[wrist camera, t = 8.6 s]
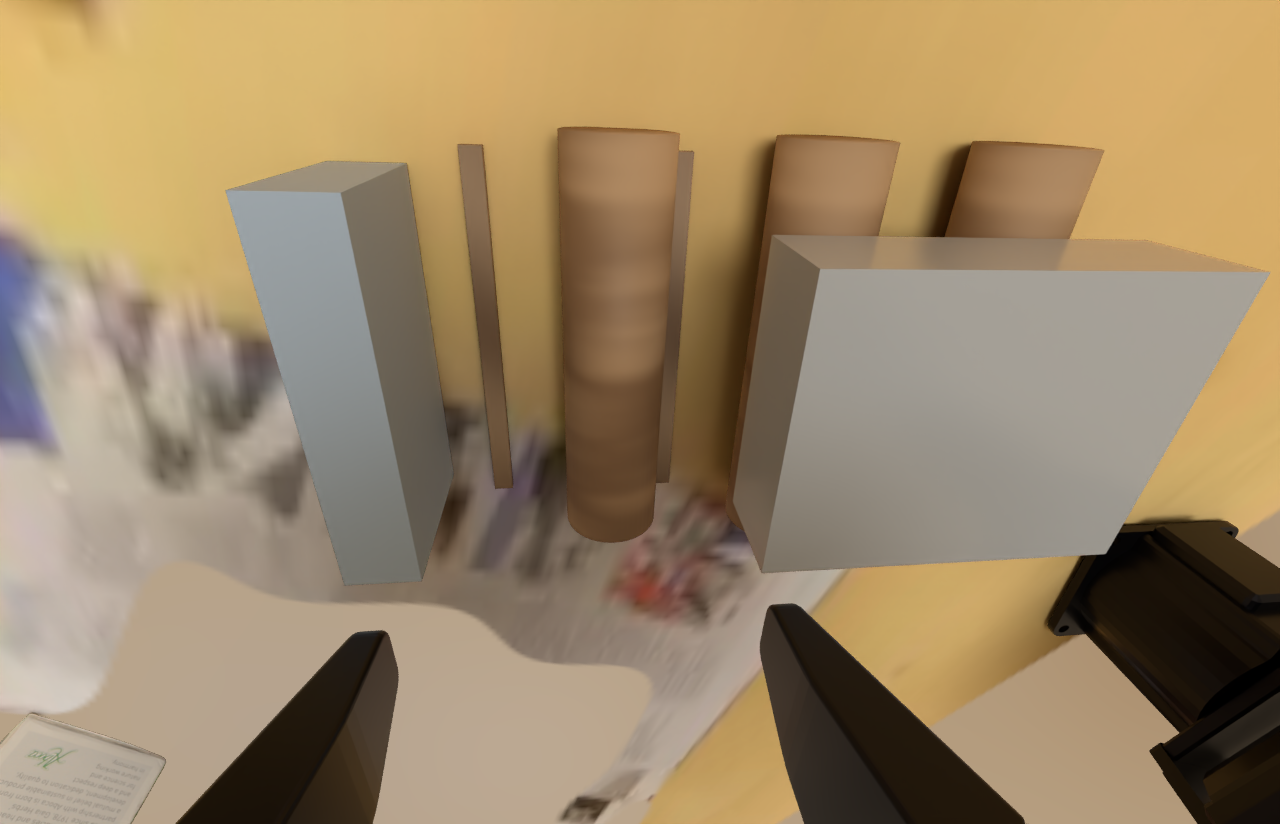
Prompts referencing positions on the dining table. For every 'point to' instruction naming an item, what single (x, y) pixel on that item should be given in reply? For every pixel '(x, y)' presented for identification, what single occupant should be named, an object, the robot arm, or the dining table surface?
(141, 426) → the dining table surface
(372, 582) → the bar
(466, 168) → the roller track
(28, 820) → the syrup box
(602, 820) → the dining table surface
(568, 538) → the dining table surface
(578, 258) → the roller
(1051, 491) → the slab
